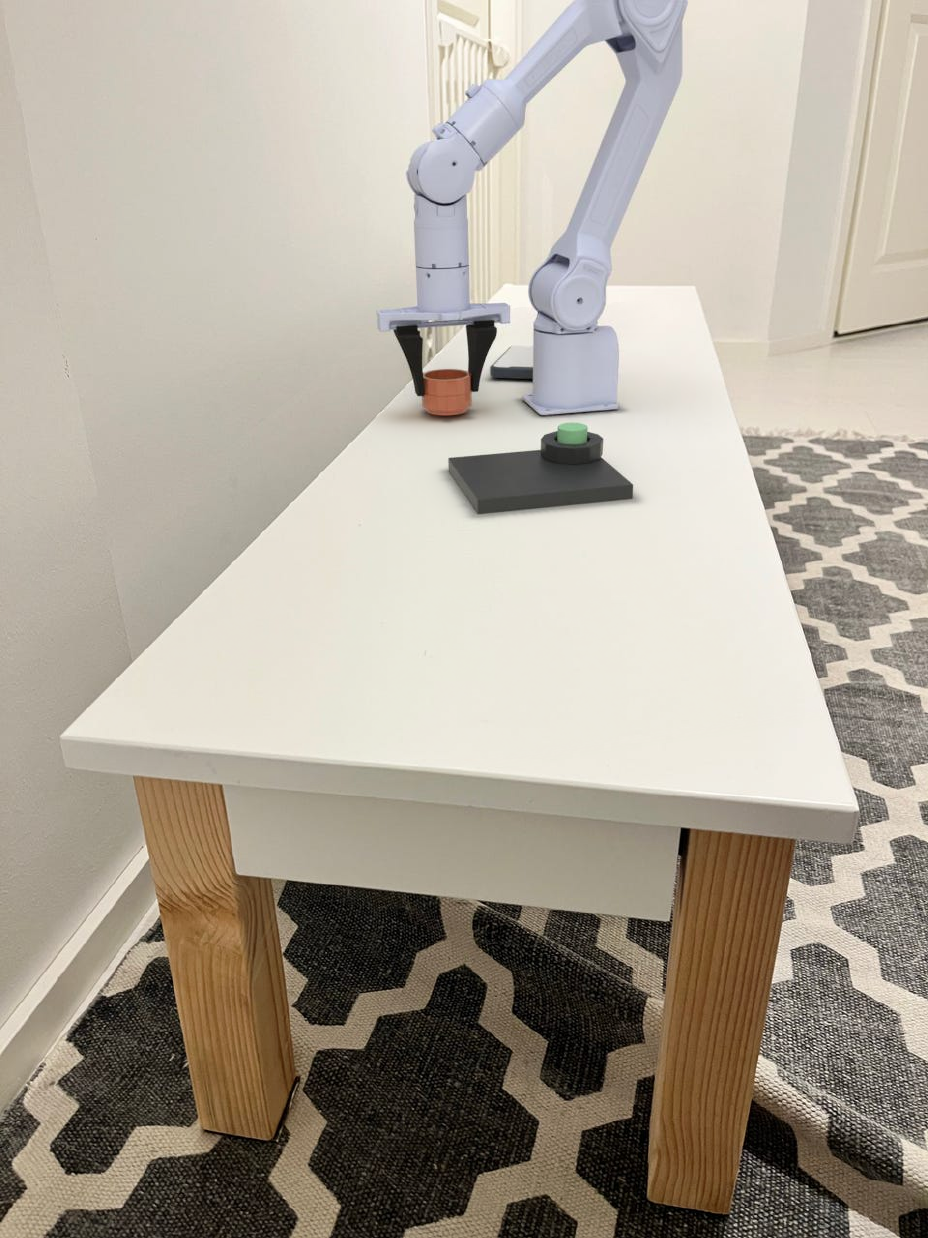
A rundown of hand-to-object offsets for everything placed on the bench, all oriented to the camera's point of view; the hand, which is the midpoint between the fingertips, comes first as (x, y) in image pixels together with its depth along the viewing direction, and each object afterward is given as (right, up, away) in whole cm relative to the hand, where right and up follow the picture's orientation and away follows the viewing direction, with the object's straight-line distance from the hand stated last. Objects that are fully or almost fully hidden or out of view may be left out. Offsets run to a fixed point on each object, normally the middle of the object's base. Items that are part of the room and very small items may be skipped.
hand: (446, 391), depth 110 cm
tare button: (+12, -9, -18) cm, 24 cm away
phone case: (+11, +8, +22) cm, 26 cm away
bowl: (0, -2, +1) cm, 2 cm away
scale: (+9, -13, -21) cm, 26 cm away
